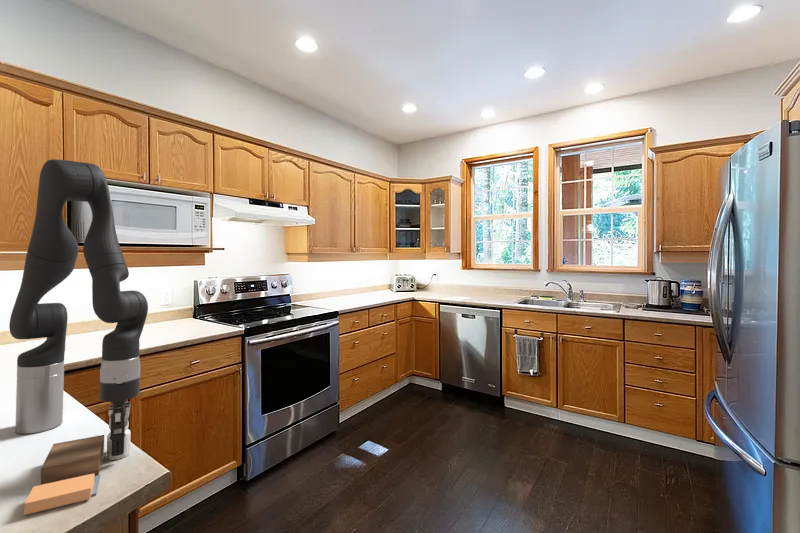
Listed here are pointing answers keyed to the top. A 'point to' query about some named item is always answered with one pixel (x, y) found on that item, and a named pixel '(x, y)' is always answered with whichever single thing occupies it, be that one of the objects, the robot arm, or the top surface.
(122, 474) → the top surface
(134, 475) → the top surface
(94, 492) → the mat
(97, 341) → the top surface
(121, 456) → the pill bottle
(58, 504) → the thin peach tile
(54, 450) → the block
